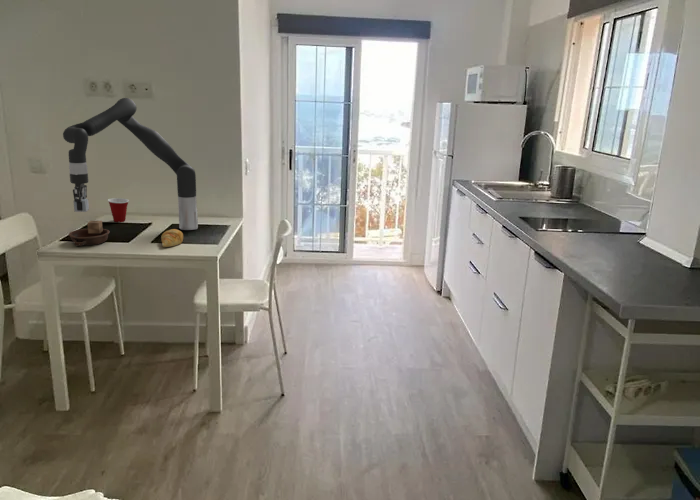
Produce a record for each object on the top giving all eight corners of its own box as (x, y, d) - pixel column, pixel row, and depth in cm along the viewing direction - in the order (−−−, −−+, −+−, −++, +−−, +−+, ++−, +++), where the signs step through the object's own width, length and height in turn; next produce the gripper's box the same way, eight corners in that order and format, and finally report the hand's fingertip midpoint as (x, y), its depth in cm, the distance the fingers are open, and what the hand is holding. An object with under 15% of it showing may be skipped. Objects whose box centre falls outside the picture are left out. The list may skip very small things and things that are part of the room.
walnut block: (102, 230, 264) (101, 220, 263) (99, 233, 260) (98, 222, 258) (91, 230, 264) (90, 220, 262) (88, 233, 259) (87, 222, 258)
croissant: (170, 256, 257) (177, 242, 254) (151, 245, 256) (158, 231, 253) (185, 243, 277) (192, 230, 275) (167, 233, 276) (174, 220, 274)
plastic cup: (123, 223, 299) (121, 201, 296) (105, 222, 301) (103, 200, 298) (134, 219, 309) (133, 198, 306) (117, 218, 311) (115, 197, 308)
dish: (58, 247, 252) (57, 236, 251) (85, 235, 274) (84, 225, 272) (95, 249, 251) (94, 239, 250) (119, 237, 272) (118, 228, 271)
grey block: (88, 209, 260) (88, 198, 259) (86, 211, 255) (85, 200, 254) (77, 209, 259) (76, 198, 258) (74, 211, 255) (73, 200, 253)
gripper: (74, 170, 259) (77, 206, 263) (64, 174, 245) (68, 212, 250) (91, 170, 260) (94, 206, 265) (83, 174, 247) (86, 212, 251)
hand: (81, 209), depth 257 cm, fingers closed on grey block, 5 cm apart
